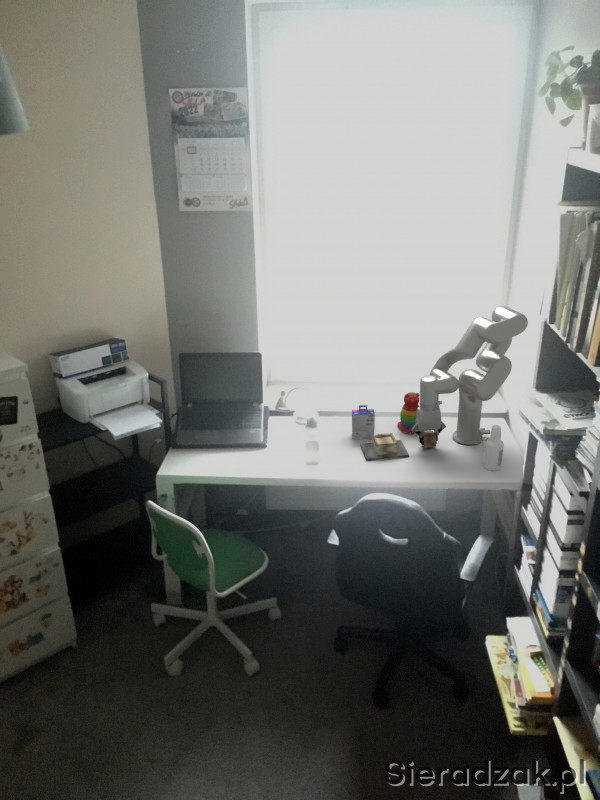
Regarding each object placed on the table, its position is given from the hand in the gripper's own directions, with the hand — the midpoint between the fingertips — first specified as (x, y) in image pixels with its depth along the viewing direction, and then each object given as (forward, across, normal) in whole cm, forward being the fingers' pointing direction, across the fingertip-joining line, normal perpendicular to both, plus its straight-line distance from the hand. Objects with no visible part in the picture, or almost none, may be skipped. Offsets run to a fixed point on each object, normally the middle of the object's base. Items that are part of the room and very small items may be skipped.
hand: (428, 442), depth 271 cm
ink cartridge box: (+2, +25, -15) cm, 29 cm away
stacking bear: (+3, +3, -18) cm, 18 cm away
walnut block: (+1, 0, 0) cm, 1 cm away
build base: (+2, +19, 0) cm, 19 cm away
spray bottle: (+3, -20, +19) cm, 28 cm away
